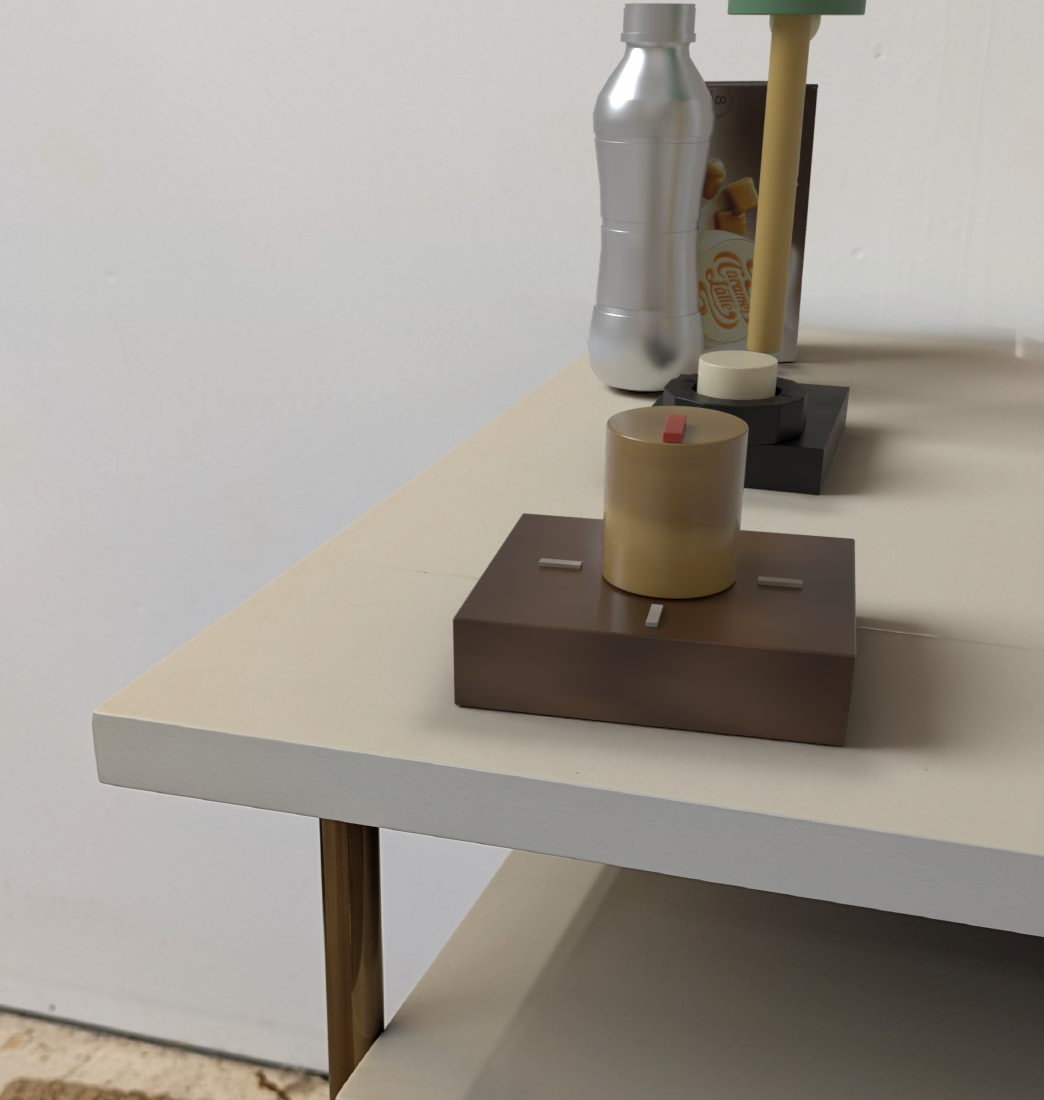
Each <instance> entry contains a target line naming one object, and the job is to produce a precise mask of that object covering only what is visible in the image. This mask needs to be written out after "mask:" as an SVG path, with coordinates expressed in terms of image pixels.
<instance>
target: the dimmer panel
mask: <svg viewBox="0 0 1044 1100" xmlns="http://www.w3.org/2000/svg"><path fill="white" fill-rule="evenodd" d="M602 539H603V518H589V517H577V516H566V515H565V516H563V515H550V514H549V515H548V514H540V513H539V514H538V513H525V512H524V513H522V514H521V515H520V517H519V518H518V520H517V522H516V523H515V524H514V526H513V528H512V529H511V531H510V532H509V533H508V535H507V536H506V538H505V540H504V541H503V543H502V545H501V546H500V547H499V549H498V550H497V552H496V553H495V554H494V556H493V558H492V559H491V561H490V562H489V564H488V566H487V567H485V570H484V571H483V572H482V574H481V576H480V577H479V579H478V580H477V582H476V583H475V585H474V586H473V588H472V589H471V591H470V592H469V594H468V595H467V597H466V598H465V600H464V601H463V603H462V604H461V606H460V607H459V608H458V610H457V612H456V613H455V615H454V616H453V618H452V655H453V656H452V657H453V659H452V660H453V700H454V705H456V706H461V707H471V708H480V709H488V710H489V709H490V710H497V711H498V710H499V711H508V712H509V711H510V712H518V713H528V714H535V715H545V716H546V715H547V716H556V717H565V718H575V719H585V720H593V721H603V722H611V723H612V722H613V723H622V724H629V725H630V724H631V725H640V726H651V727H660V728H670V729H679V730H688V731H697V732H707V733H716V734H724V735H725V734H727V735H736V736H744V737H752V738H762V739H763V738H764V739H773V740H781V741H792V742H801V743H810V744H820V745H822V744H823V745H829V746H839V747H844V746H845V744H846V740H847V732H848V726H849V718H850V710H851V702H852V696H853V695H852V694H853V687H854V686H853V685H854V679H855V672H856V664H857V604H856V602H857V599H856V597H857V595H856V593H857V592H856V589H857V588H856V540H855V539H854V538H851V537H850V538H849V537H836V536H823V535H812V534H810V535H809V534H799V533H786V532H785V533H784V532H773V531H772V532H771V531H759V530H758V531H757V530H747V529H740V541H739V553H738V565H737V576H736V580H735V581H734V583H733V584H732V585H731V586H730V587H729V588H727V589H726V590H723V591H721V592H719V593H716V594H712V595H708V596H704V597H697V598H686V599H666V598H654V597H648V596H642V595H637V594H634V593H630V592H627V591H624V590H622V589H619V588H617V587H615V586H613V585H612V584H610V583H609V582H608V581H607V580H606V579H605V578H604V576H603V574H602V570H601V568H602Z"/></svg>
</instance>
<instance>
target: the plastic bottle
mask: <svg viewBox="0 0 1044 1100" xmlns="http://www.w3.org/2000/svg"><path fill="white" fill-rule="evenodd" d="M696 13H697V8H696V3H679V2H678V3H677V2H676V3H671V2H670V3H666V2H665V3H663V2H662V3H661V2H659V3H658V2H651V3H649V2H644V3H643V2H641V3H639V2H638V3H637V2H636V3H635V2H634V3H624V7H623V21H622V32H620V40H619V41H620V43H625V51H624V56H622V58H621V59H620V61H619V63H618V64H617V65H616V67H615V68H614V70H613V71H612V72H611V74H610V75H609V77H608V78H607V79H606V81H605V83H604V85H603V87H602V88H601V90H600V91H599V93H598V95H597V97H596V101H595V104H594V108H593V112H592V129H593V130H592V131H593V134H594V138H593V141H594V149H595V157H596V158H595V160H596V167H597V175H598V185H599V208H600V209H599V214H600V215H599V216H600V218H601V225H600V252H599V262H598V270H597V271H598V272H597V273H598V274H597V282H596V292H595V305H593V308H592V312H591V316H590V323H589V328H588V336H587V348H588V357H589V363H590V369H591V370H592V372H593V374H594V375H595V377H596V379H597V380H598V382H600V383H601V384H603V385H606V386H608V387H612V388H617V389H622V390H625V391H626V390H627V391H631V392H638V393H639V392H640V393H654V392H661V391H662V392H663V391H664V387H665V386H666V385H667V384H668V382H669V381H670V380H671V379H674V378H678V376H679V375H680V374H688V375H691V374H695V373H696V374H697V373H698V369H699V358H700V356H701V355H703V350H704V334H703V321H702V315H701V309H700V308H699V307H698V303H699V278H698V237H699V227H698V222H699V219H700V217H701V207H702V197H703V188H704V183H705V177H706V172H707V166H708V161H709V156H710V150H711V145H712V140H711V138H712V134H714V126H715V118H716V115H715V110H714V105H713V100H712V97H711V95H710V93H709V90H708V88H707V86H706V84H705V82H704V81H705V80H704V78H703V76H702V75H701V72H700V71H699V69H698V68H697V66H696V65H695V63H694V61H693V60H692V57H691V54H690V44H691V43H696V42H697V41H696V40H697V33H696V32H695V28H696V27H695V26H696Z"/></svg>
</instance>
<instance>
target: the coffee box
mask: <svg viewBox="0 0 1044 1100" xmlns="http://www.w3.org/2000/svg"><path fill="white" fill-rule="evenodd" d="M704 82H705V84H706V86H707V88H708V90H709V93H710V95H711V97H712V100H713V105H714V110H715V115H716V118H715V126H714V134H712V138H711V140H712V145H711V150H710V156H709V161H708V166H707V172H706V177H705V183H704V188H703V197H702V207H701V217H700V219H699V222H698V227H699V237H698V278H699V303H698V307H699V308H700V309H701V315H702V321H703V334H704V350H703V354H706V353H710V352H715V351H729V350H736V351H748V350H747V348H746V347H747V335H748V322H749V310H750V297H751V285H752V272H753V260H754V247H755V235H756V222H757V210H758V197H759V185H760V172H761V160H762V147H763V135H764V122H765V110H766V97H767V85H768V80H704ZM818 90H819V84H818V83H806V89H805V100H804V110H803V121H802V132H801V143H800V154H799V165H798V176H797V187H796V197H795V208H794V219H793V230H792V241H791V252H790V263H789V274H788V285H787V295H786V306H785V317H784V328H783V339H782V349H781V351H780V352H777V353H763V354H767V355H770V356H773V357H775V358H776V359H777V360H778V363H790V362H791V363H792V362H796V359H797V351H798V338H799V325H800V311H801V301H802V288H803V273H804V264H805V263H804V262H805V251H806V250H805V249H806V239H807V227H808V214H809V201H810V192H811V191H810V190H811V176H812V167H813V165H812V164H813V154H814V153H813V152H814V142H815V141H814V139H815V130H816V129H815V127H816V114H817V104H818V103H817V102H818Z"/></svg>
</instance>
